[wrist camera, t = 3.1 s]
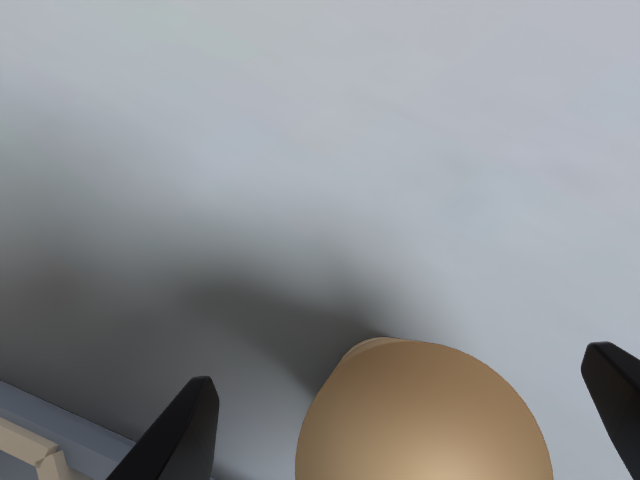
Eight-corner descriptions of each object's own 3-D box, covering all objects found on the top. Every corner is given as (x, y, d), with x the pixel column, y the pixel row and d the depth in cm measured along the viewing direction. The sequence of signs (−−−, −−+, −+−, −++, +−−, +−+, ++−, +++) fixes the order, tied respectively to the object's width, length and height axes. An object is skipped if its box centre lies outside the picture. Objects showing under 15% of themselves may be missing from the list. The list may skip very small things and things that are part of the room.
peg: (417, 460, 15) (517, 675, 6) (318, 419, 16) (258, 551, 6) (447, 357, 16) (580, 393, 6) (352, 322, 17) (342, 308, 7)
